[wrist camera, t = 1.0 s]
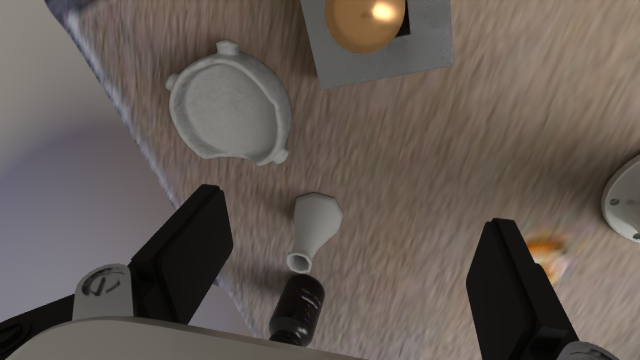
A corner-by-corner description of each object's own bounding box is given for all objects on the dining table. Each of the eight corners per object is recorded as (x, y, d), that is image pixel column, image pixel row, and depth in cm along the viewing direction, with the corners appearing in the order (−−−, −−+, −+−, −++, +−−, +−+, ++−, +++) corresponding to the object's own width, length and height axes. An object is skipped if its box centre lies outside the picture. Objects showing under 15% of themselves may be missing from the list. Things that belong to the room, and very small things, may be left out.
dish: (309, 146, 41) (298, 164, 37) (219, 163, 46) (200, 181, 42) (269, 24, 35) (250, 30, 31) (169, 58, 40) (141, 67, 35)
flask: (290, 190, 45) (263, 237, 37) (341, 192, 43) (325, 241, 35) (298, 231, 49) (275, 282, 40) (345, 234, 47) (331, 288, 39)
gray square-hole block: (439, -97, 27) (445, -112, 23) (447, 54, 32) (453, 65, 28) (303, -51, 31) (286, -57, 26) (331, 77, 36) (321, 89, 32)
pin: (402, -38, 29) (399, -48, 20) (409, 26, 32) (409, 44, 22) (344, -21, 31) (316, -23, 22) (355, 39, 33) (333, 60, 24)
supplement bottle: (327, 278, 52) (307, 348, 42) (324, 305, 56) (305, 376, 46) (286, 269, 53) (257, 334, 43) (286, 296, 57) (259, 363, 47)
